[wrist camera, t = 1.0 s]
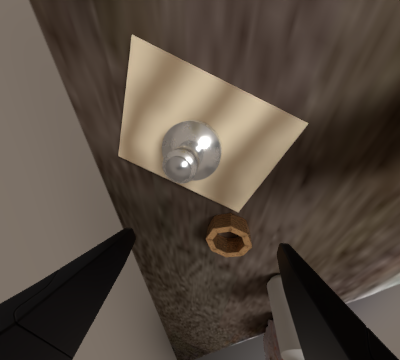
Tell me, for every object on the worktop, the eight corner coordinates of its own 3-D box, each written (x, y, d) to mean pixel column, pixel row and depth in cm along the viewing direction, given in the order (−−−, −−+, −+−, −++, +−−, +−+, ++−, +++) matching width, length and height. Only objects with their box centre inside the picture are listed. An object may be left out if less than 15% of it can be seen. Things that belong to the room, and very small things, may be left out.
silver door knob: (232, 136, 17) (233, 152, 11) (207, 182, 20) (198, 212, 15) (177, 108, 16) (149, 111, 11) (161, 161, 20) (134, 183, 14)
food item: (289, 336, 40) (304, 398, 32) (259, 329, 42) (267, 387, 33) (305, 316, 34) (330, 387, 25) (269, 308, 35) (282, 373, 27)
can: (280, 295, 32) (304, 388, 21) (258, 278, 30) (272, 368, 20) (314, 286, 28) (363, 392, 18) (290, 267, 27) (328, 369, 17)
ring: (256, 224, 24) (259, 239, 21) (235, 246, 27) (236, 261, 24) (220, 207, 23) (218, 220, 21) (203, 232, 27) (200, 245, 24)
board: (303, 122, 16) (308, 123, 15) (237, 207, 23) (238, 212, 22) (138, 39, 15) (131, 34, 14) (123, 153, 22) (118, 156, 21)
